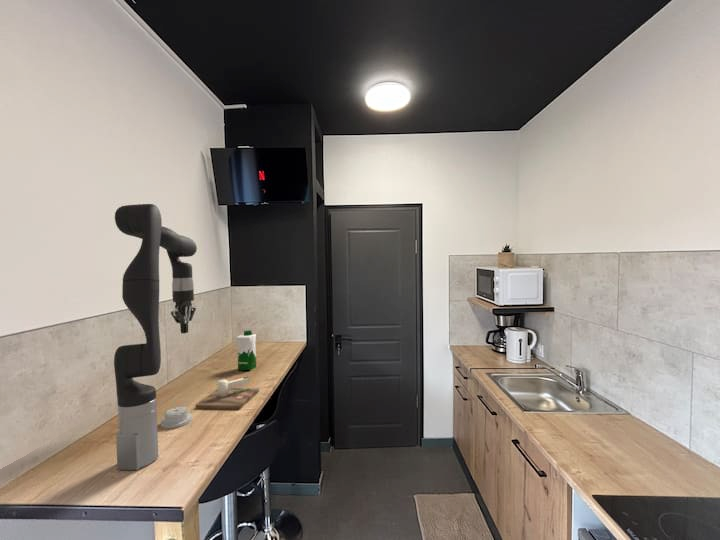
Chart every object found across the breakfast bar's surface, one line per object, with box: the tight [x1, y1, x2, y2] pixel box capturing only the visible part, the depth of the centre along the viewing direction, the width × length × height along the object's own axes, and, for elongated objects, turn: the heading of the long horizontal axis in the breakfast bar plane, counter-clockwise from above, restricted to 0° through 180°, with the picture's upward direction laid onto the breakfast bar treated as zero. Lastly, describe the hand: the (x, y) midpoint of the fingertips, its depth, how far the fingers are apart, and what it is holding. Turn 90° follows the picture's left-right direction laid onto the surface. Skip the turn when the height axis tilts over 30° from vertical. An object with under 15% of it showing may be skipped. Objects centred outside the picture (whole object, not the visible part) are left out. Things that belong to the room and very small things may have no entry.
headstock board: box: [195, 387, 260, 410], centre depth 141 cm, size 18×18×2 cm
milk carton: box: [235, 329, 257, 371], centre depth 182 cm, size 9×9×20 cm
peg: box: [216, 376, 249, 397], centre depth 144 cm, size 4×13×6 cm, turn 132°
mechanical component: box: [160, 406, 193, 430], centre depth 121 cm, size 10×4×10 cm
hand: (184, 332), depth 136 cm, fingers closed
